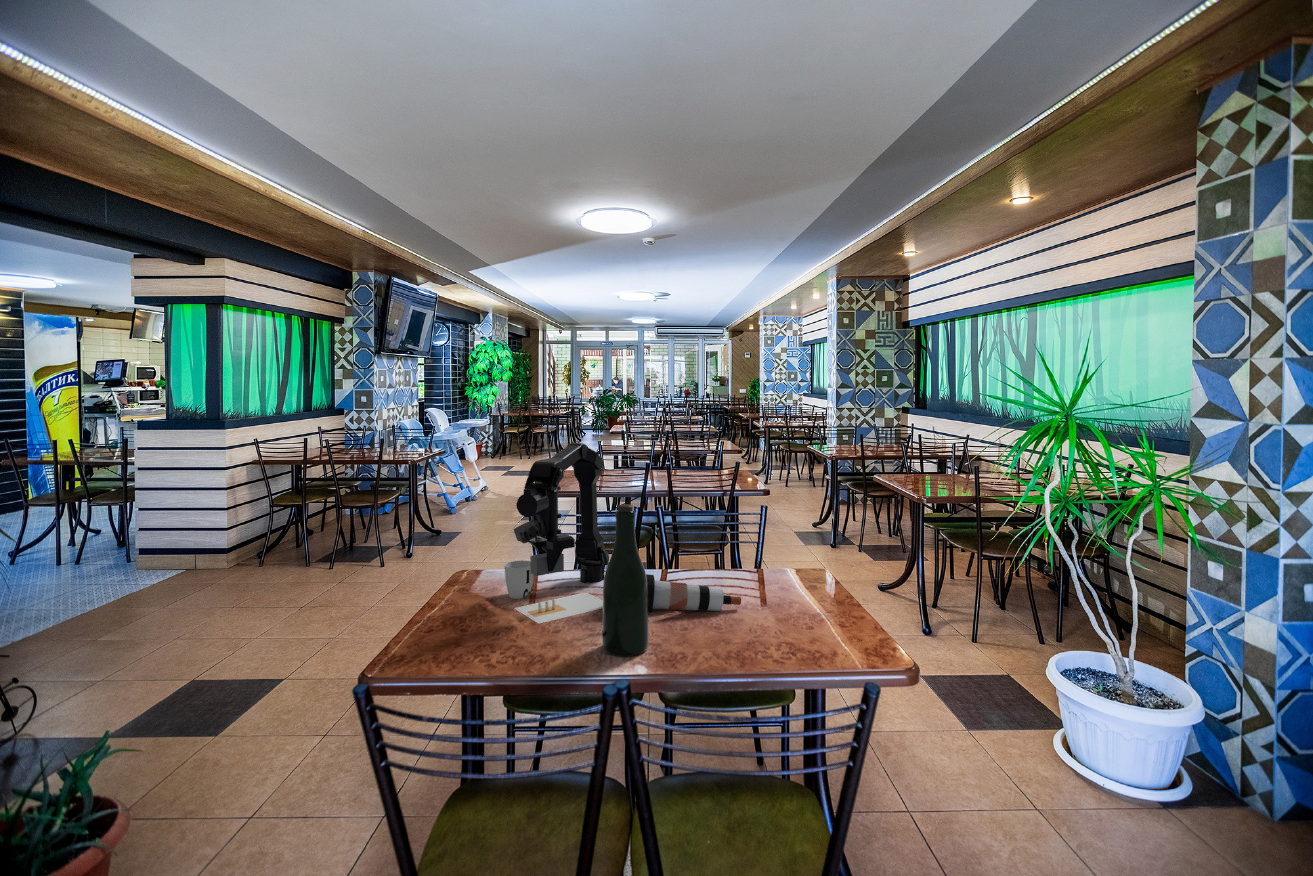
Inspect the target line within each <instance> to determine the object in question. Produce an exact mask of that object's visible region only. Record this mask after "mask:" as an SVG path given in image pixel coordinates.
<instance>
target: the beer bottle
mask: <svg viewBox="0 0 1313 876" xmlns="http://www.w3.org/2000/svg"><path fill="white" fill-rule="evenodd" d="M633 509H634V506H633V505H632V504H625V503H624V504H619V505H618V506H617V510H616V512H615V536H614V537H615V538H614V545H613V550H612V553H611V556H610V557H609V563H608V565H606V569H605V571H604V580H603V589H602V600H603V608H602V624H601V625H602V627H601V628H602V635H601V636H602V642H601V643H602V648H603V650H604V651H605V652H606V653H608V654H610V655H613V656H617V657H632V656H637V655H641V654H642V653H644V652H645V651H646V650H647V649H648V647H649V612H648V588H647V577H646V574H647V572H646V569H645V567H644V564H643V561H642V558H641V556H640V553H639V550H638V546H637V539H636V527H635V526H636V524H635V522H636V520H635V519H636V513H635V512H636V511H635V510H633Z"/></svg>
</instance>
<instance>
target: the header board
mask: <svg viewBox="0 0 1313 876" xmlns="http://www.w3.org/2000/svg"><path fill="white" fill-rule="evenodd" d="M513 609H514V610H516V611H518V612H519V613H520V614H522V615H523V616H526V617H527V618H529V619H531V620H532V621H533V622H536V623H537V624H538V625H539V624H544V623H547V622H551V621H556V620H560V619H564V618H568V617H572V616H576V615H582V614H584V613H589V612H593V611H594V612H595V611H597V610H601V609H602V610H603V599H600V598H599V597H596V596H594V595H592V594H590V593H588V592H582V593H577V594H576V593H575V594H573V595H568V596H563V597H558V598H555V599H554V598H553V599H549V600H545V601H541V602H536V603H531V604H527V605H523V606H518V607H514V608H513Z"/></svg>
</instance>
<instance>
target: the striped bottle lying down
mask: <svg viewBox="0 0 1313 876" xmlns="http://www.w3.org/2000/svg"><path fill="white" fill-rule="evenodd" d="M646 577H647V588H648V613H652V612H653V610H668V611H669V610H670V611H674V610H677V611H686V610H687V611H710V612H711V611H712V612H713V611H714V612H722V610H723V605H730V606H731V605H734V606H736V605H737V606H741V604H742V598H741V596H736V595H735V596H734V595H728V594H726V595H725V594H724V590H723V588H722V587H715V586H709V585H707V586H706V585H699V584H688V583H686V582H676V581H675V582H673V581H664V580H663V581H661V579H660V580H659V579H655V575H654V574H648V573H646Z"/></svg>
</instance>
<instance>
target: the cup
mask: <svg viewBox="0 0 1313 876" xmlns="http://www.w3.org/2000/svg"><path fill="white" fill-rule="evenodd" d="M503 566H504V575H505V584H506V590H507V593H508V596H509V597H510V598H511V599H515V600H516V599H525V598H528V597H530V596H531V593H532V590H533V585H534V576H535V575H533V574H531V566H530V560H525V559H524V560H523V559H522V560H512V561H508V562H506V563H504V565H503Z"/></svg>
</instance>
